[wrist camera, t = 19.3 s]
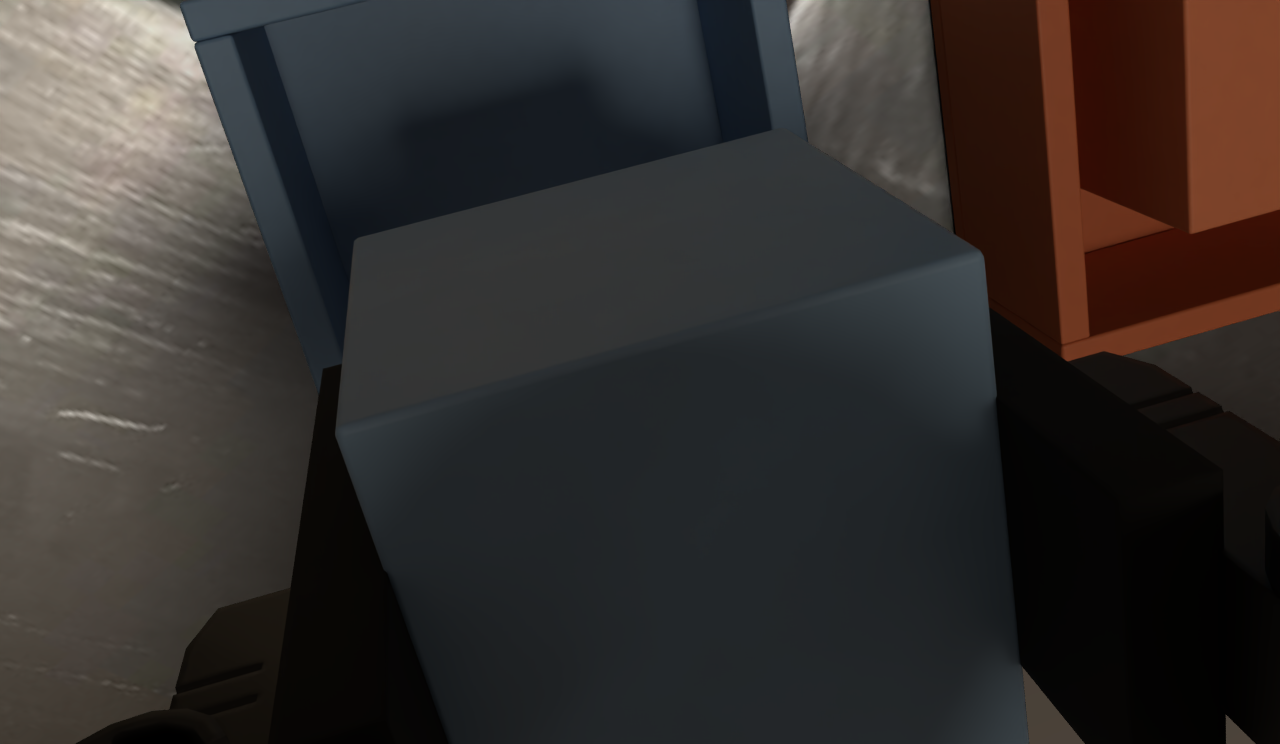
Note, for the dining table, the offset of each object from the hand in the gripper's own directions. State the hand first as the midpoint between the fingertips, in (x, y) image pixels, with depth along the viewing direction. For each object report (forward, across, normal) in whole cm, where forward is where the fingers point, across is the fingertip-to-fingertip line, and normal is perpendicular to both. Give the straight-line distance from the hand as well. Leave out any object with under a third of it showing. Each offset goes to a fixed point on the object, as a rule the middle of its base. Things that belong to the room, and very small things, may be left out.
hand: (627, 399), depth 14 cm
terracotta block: (+11, -14, 0) cm, 17 cm away
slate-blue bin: (+11, 0, 0) cm, 11 cm away
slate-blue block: (0, 0, 0) cm, 0 cm away
